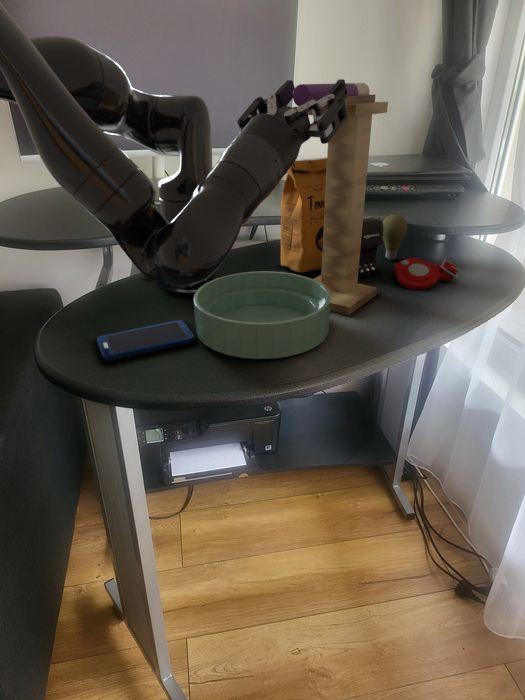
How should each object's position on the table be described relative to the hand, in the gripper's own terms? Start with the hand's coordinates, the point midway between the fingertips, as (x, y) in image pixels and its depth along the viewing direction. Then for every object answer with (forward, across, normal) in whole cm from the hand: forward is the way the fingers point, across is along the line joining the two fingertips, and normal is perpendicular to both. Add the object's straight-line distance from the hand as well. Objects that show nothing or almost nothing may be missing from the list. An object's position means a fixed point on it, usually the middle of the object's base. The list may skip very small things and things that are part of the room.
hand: (316, 86), depth 66 cm
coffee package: (+1, +12, +40) cm, 42 cm away
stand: (-10, 0, +34) cm, 35 cm away
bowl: (-25, +3, +25) cm, 36 cm away
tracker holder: (+5, -11, +43) cm, 44 cm away
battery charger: (+2, +1, +41) cm, 41 cm away
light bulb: (+13, 0, +47) cm, 49 cm away
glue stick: (+3, 0, +4) cm, 5 cm away
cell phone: (-37, +15, +18) cm, 44 cm away
